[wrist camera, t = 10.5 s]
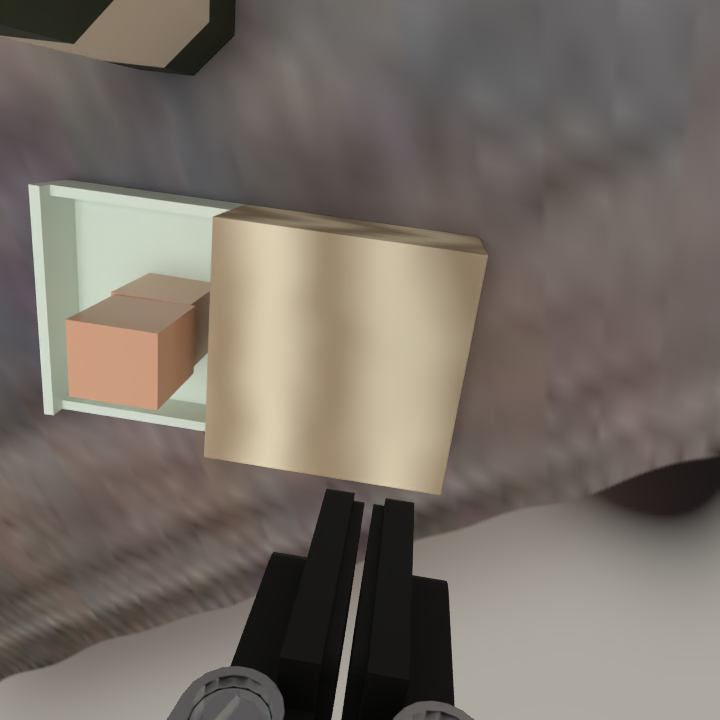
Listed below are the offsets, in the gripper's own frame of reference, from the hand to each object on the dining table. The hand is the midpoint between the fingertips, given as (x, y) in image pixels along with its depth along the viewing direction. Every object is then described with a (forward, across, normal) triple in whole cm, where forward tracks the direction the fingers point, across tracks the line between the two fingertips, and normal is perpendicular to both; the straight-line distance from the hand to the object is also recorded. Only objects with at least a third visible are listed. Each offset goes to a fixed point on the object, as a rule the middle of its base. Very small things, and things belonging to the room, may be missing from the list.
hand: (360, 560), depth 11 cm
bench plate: (+27, +3, +4) cm, 28 cm away
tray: (+27, +16, +4) cm, 32 cm away
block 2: (+19, +11, +4) cm, 22 cm away
